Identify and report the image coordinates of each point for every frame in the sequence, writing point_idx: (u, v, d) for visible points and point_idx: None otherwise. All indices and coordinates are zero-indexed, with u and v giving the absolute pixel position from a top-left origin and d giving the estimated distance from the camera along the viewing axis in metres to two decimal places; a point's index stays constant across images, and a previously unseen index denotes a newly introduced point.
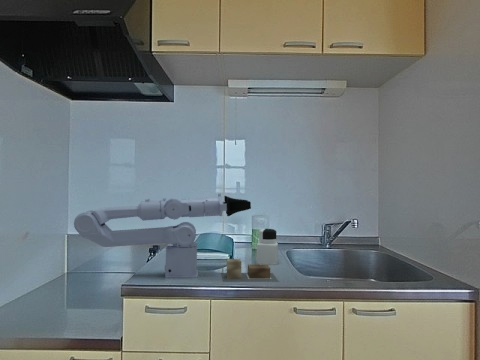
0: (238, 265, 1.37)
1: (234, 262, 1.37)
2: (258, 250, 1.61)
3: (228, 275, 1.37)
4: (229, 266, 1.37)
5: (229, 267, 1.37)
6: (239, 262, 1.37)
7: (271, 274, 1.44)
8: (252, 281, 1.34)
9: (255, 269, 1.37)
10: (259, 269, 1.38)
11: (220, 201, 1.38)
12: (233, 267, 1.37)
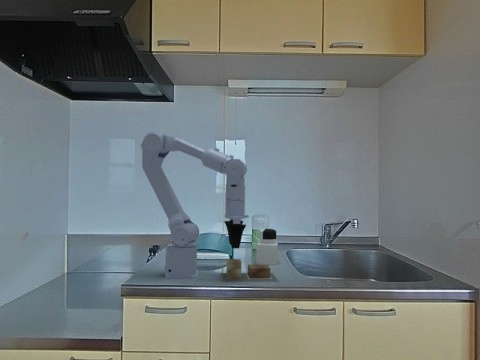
0: (238, 265, 1.37)
1: (234, 262, 1.37)
2: (258, 250, 1.61)
3: (228, 275, 1.37)
4: (229, 266, 1.37)
5: (229, 267, 1.37)
6: (239, 262, 1.37)
7: (271, 274, 1.44)
8: (252, 281, 1.34)
9: (255, 269, 1.37)
10: (259, 269, 1.38)
11: (241, 217, 1.35)
12: (233, 267, 1.37)
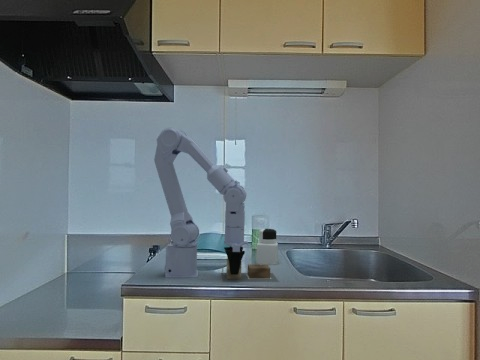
0: None
1: None
2: (258, 250, 1.61)
3: (228, 275, 1.37)
4: (229, 266, 1.37)
5: (229, 267, 1.37)
6: None
7: (271, 274, 1.44)
8: (252, 281, 1.34)
9: (255, 269, 1.37)
10: (259, 269, 1.38)
11: (241, 244, 1.35)
12: None
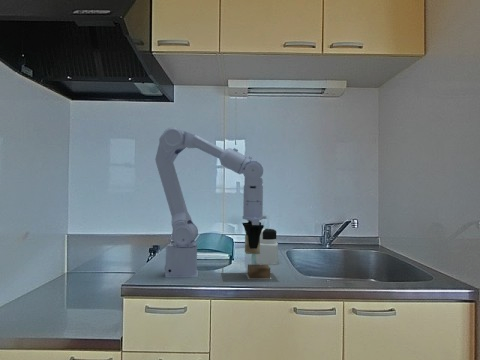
0: None
1: None
2: None
3: (246, 251, 1.38)
4: (248, 241, 1.38)
5: (248, 242, 1.38)
6: None
7: (271, 274, 1.44)
8: (252, 281, 1.34)
9: (255, 269, 1.37)
10: (259, 269, 1.38)
11: (260, 218, 1.36)
12: None
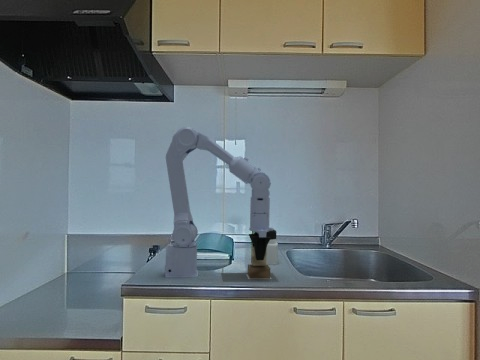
0: None
1: None
2: None
3: (253, 262, 1.38)
4: (254, 253, 1.38)
5: (254, 254, 1.38)
6: None
7: (271, 274, 1.44)
8: (252, 281, 1.34)
9: (255, 269, 1.37)
10: (259, 269, 1.38)
11: (267, 230, 1.36)
12: None
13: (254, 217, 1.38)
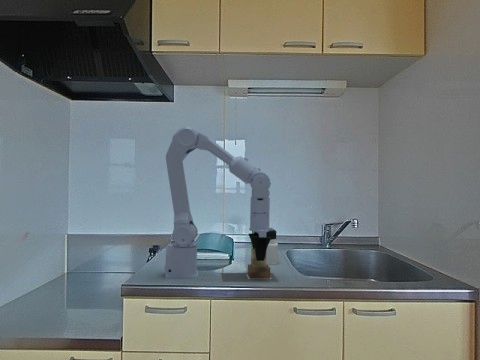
0: None
1: None
2: None
3: (253, 264, 1.38)
4: (254, 255, 1.38)
5: (254, 256, 1.38)
6: None
7: (271, 274, 1.44)
8: (252, 281, 1.34)
9: (255, 269, 1.37)
10: (259, 269, 1.38)
11: (267, 230, 1.36)
12: None
13: (254, 217, 1.38)
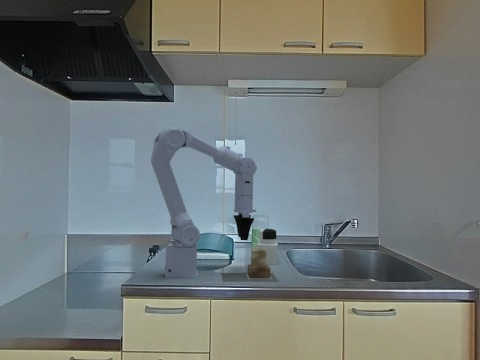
0: (263, 254, 1.39)
1: (259, 251, 1.39)
2: None
3: (253, 264, 1.38)
4: (254, 255, 1.38)
5: (254, 256, 1.38)
6: (264, 251, 1.39)
7: (271, 274, 1.44)
8: (252, 281, 1.34)
9: (255, 269, 1.37)
10: (259, 269, 1.38)
11: (250, 211, 1.45)
12: (258, 256, 1.39)
13: (238, 199, 1.47)
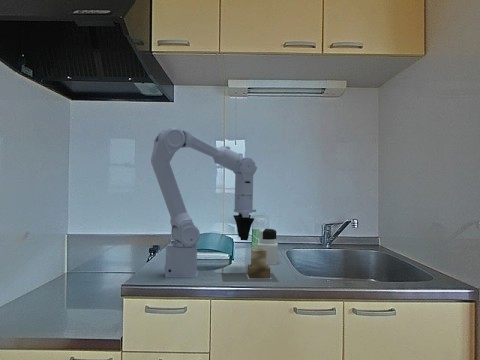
0: (263, 254, 1.39)
1: (259, 251, 1.39)
2: None
3: (253, 264, 1.38)
4: (254, 255, 1.38)
5: (254, 256, 1.38)
6: (264, 251, 1.39)
7: (271, 274, 1.44)
8: (252, 281, 1.34)
9: (255, 269, 1.37)
10: (259, 269, 1.38)
11: (250, 211, 1.45)
12: (258, 256, 1.39)
13: (238, 199, 1.47)
